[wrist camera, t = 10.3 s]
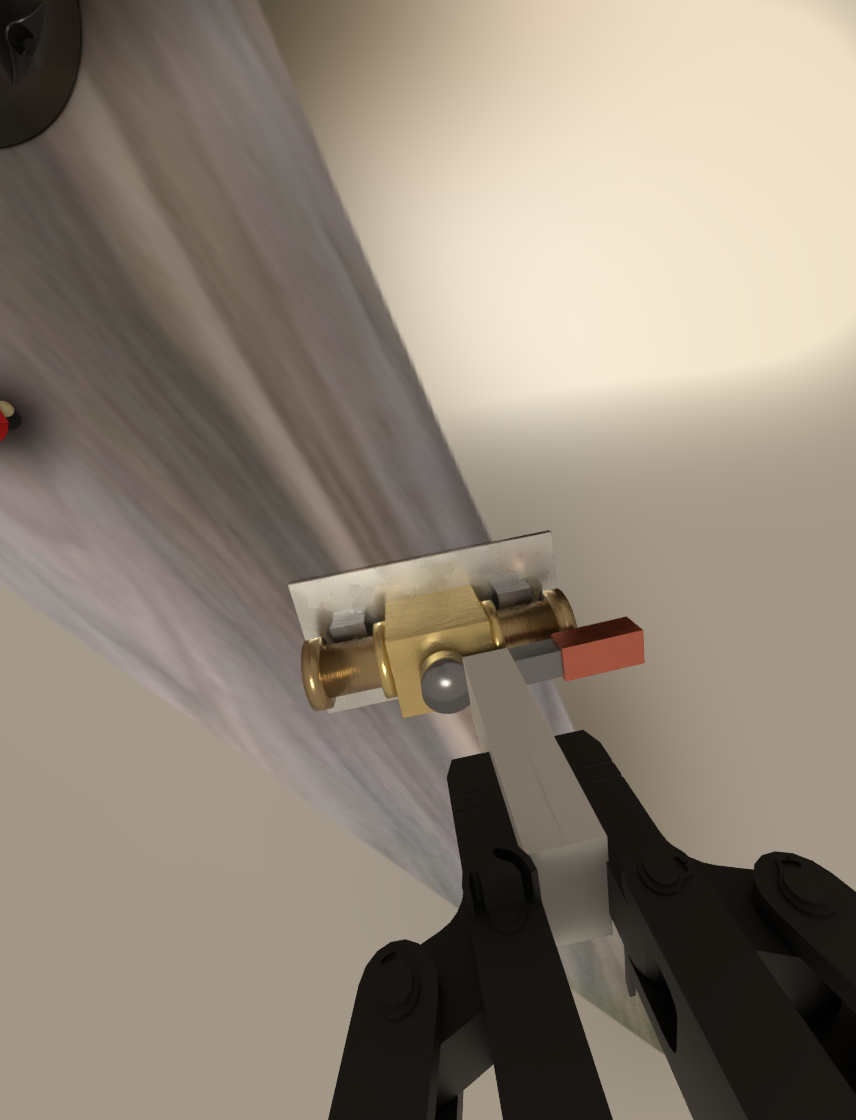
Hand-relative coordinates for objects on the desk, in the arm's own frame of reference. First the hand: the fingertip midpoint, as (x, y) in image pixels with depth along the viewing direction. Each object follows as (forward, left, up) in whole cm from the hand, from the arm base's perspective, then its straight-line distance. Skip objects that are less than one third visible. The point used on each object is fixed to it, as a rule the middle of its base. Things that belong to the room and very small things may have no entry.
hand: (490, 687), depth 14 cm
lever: (+10, +5, -16) cm, 19 cm away
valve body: (+10, -1, -24) cm, 26 cm away
